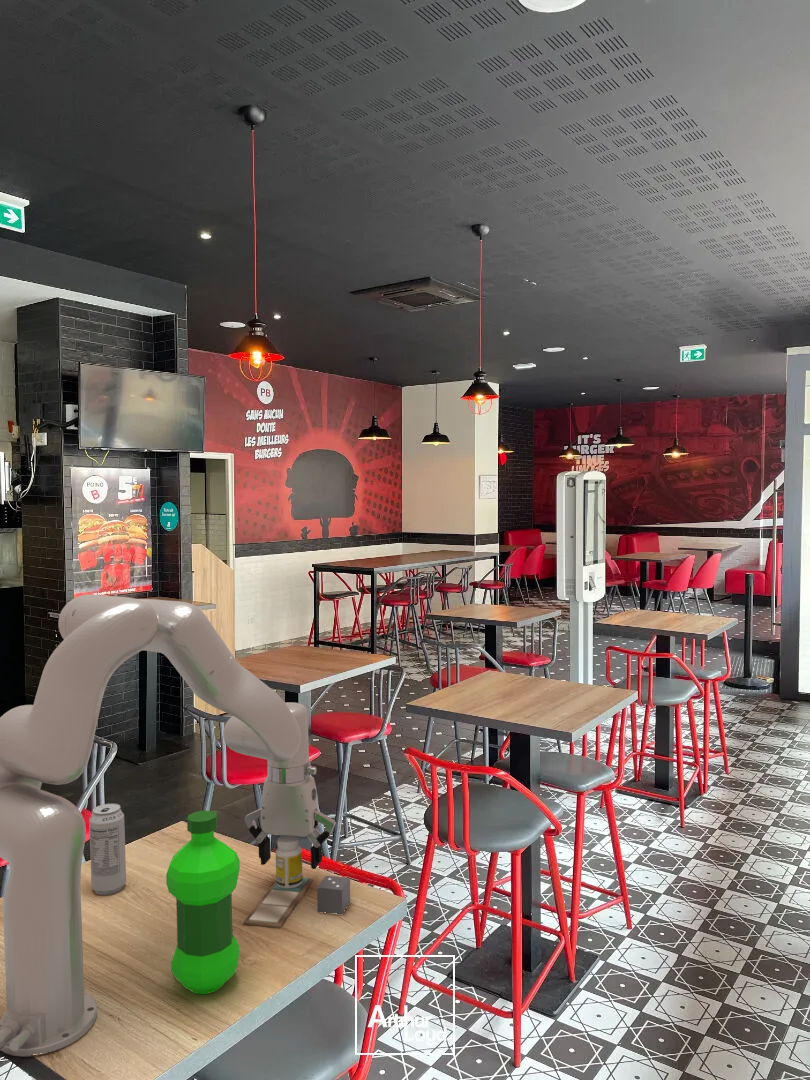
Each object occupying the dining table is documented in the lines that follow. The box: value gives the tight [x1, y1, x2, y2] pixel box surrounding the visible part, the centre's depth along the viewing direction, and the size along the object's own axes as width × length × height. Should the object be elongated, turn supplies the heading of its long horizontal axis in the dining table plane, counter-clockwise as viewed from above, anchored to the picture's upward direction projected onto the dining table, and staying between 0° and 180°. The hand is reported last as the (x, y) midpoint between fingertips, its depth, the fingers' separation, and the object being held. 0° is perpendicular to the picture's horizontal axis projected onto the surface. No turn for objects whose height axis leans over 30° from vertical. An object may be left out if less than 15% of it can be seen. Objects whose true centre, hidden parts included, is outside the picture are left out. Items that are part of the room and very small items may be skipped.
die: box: [316, 875, 351, 915], centre depth 139 cm, size 4×4×5 cm
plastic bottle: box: [165, 809, 241, 995], centre depth 116 cm, size 10×10×25 cm
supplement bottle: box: [275, 835, 303, 889], centre depth 146 cm, size 5×5×8 cm
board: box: [243, 876, 315, 929], centre depth 141 cm, size 17×7×1 cm, turn 168°
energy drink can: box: [88, 803, 127, 896], centre depth 147 cm, size 6×6×15 cm
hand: (290, 863), depth 146 cm, fingers open, 9 cm apart
